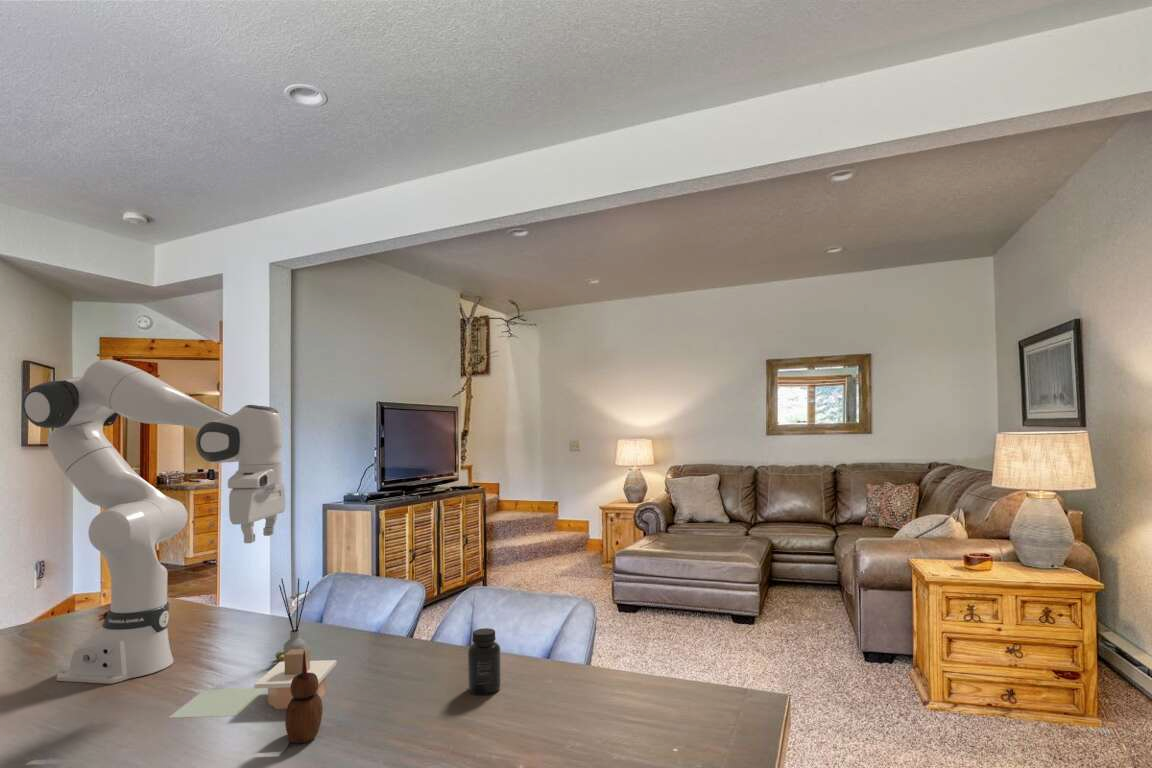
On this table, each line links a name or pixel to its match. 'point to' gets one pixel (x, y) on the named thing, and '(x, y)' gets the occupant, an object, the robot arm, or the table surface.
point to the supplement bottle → (484, 663)
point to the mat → (218, 703)
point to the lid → (294, 669)
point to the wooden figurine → (304, 707)
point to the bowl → (288, 695)
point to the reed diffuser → (294, 634)
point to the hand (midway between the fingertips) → (259, 538)
